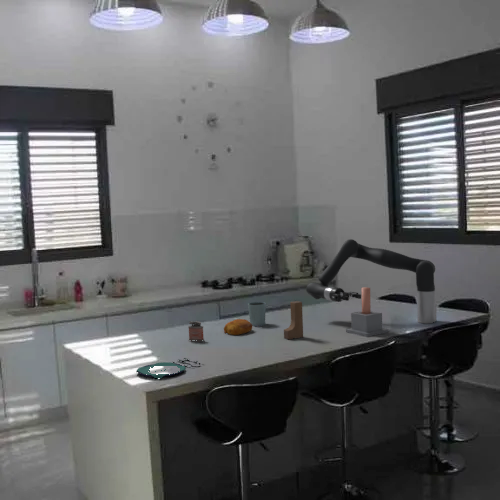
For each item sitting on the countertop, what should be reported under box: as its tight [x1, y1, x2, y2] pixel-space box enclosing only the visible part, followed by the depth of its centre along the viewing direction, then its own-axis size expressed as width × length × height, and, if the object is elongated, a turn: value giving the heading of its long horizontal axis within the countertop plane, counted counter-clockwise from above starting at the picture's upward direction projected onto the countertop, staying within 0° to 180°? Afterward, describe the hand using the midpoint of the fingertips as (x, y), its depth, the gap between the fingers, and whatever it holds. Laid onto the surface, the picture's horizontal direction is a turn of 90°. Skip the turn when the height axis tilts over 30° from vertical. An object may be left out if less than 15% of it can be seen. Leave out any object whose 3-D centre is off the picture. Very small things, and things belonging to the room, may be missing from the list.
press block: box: [345, 310, 389, 338], centre depth 326 cm, size 15×15×10 cm
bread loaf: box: [223, 318, 253, 336], centre depth 340 cm, size 14×16×8 cm
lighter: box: [187, 320, 205, 342], centre depth 323 cm, size 8×3×10 cm, turn 71°
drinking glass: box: [247, 301, 267, 327], centre depth 357 cm, size 10×10×12 cm
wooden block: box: [283, 300, 304, 340], centre depth 320 cm, size 9×4×18 cm, turn 118°
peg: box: [361, 286, 372, 314], centre depth 326 cm, size 4×4×20 cm
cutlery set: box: [136, 357, 199, 379], centre depth 271 cm, size 20×30×2 cm, turn 135°
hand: (354, 297), depth 332 cm, fingers open, 8 cm apart
